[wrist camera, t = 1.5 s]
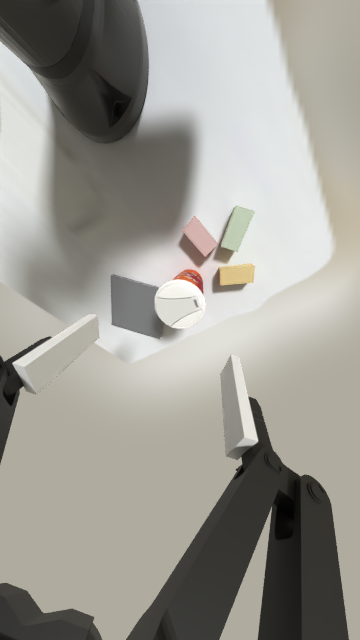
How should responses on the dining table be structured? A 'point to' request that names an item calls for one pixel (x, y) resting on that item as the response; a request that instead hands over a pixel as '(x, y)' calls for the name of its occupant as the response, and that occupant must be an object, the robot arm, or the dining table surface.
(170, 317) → the paper cup
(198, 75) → the dining table surface
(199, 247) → the rose brick
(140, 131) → the dining table surface
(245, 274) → the ochre brick
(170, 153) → the dining table surface
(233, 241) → the sage brick
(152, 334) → the slate mat
